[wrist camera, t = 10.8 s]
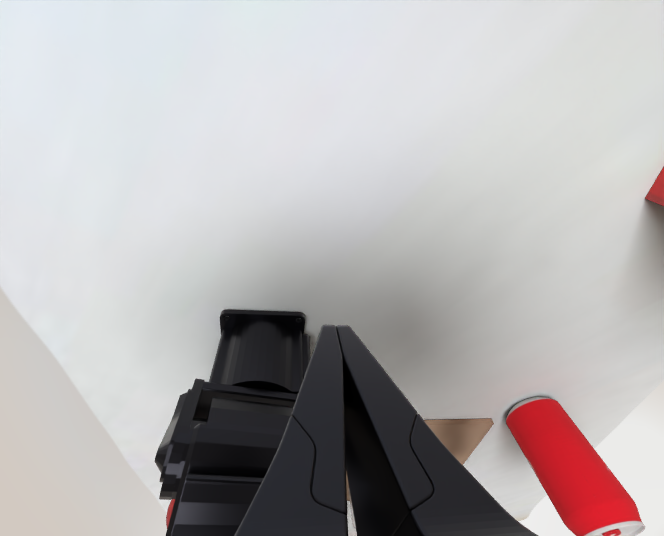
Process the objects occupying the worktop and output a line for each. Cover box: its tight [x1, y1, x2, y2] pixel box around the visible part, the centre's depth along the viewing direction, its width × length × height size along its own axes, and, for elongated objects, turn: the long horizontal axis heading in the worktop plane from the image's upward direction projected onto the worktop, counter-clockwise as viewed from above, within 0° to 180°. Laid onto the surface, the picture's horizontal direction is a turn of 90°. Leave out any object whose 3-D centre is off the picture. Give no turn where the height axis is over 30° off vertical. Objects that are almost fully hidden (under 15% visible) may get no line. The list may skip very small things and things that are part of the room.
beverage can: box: [506, 397, 645, 536], centre depth 32 cm, size 6×6×12 cm
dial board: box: [346, 419, 494, 501], centre depth 41 cm, size 24×20×1 cm
